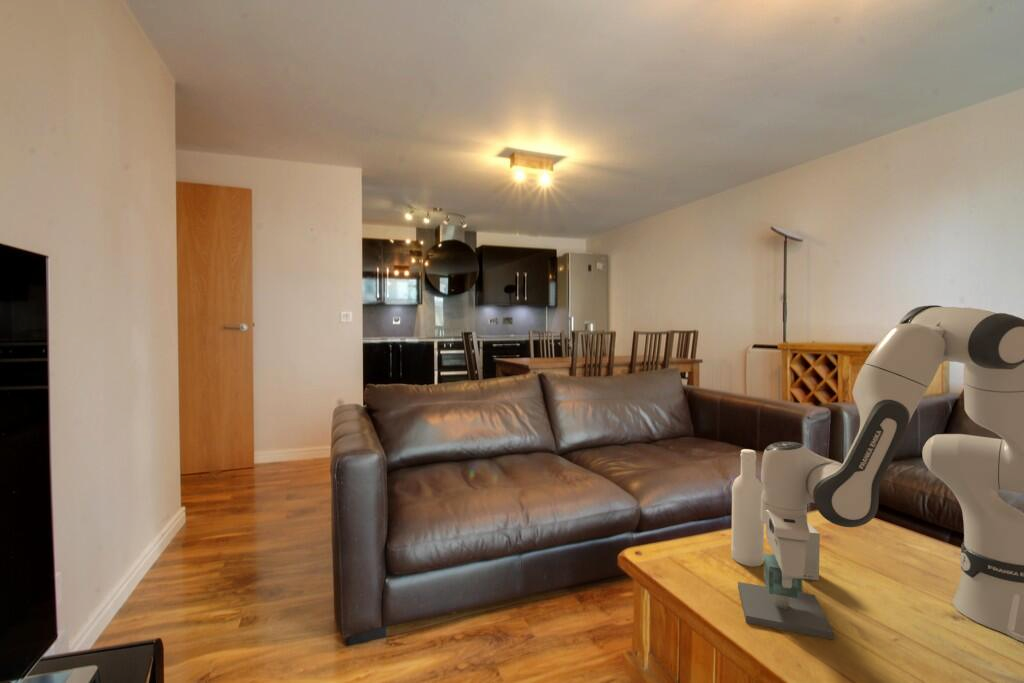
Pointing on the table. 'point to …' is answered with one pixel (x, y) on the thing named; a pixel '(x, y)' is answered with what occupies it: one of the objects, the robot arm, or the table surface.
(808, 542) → the skincare box
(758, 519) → the bottle
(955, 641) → the table surface
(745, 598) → the post block
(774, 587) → the sage green cube
